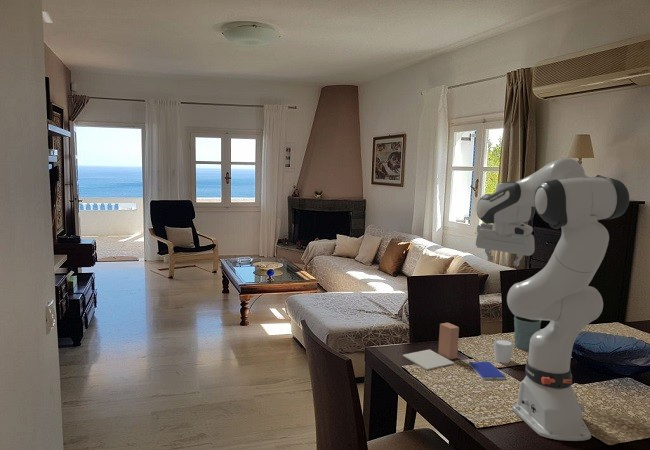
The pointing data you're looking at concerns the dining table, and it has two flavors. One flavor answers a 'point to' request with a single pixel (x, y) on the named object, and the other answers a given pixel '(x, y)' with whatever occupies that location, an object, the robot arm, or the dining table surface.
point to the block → (448, 340)
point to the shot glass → (503, 350)
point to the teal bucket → (525, 331)
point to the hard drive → (486, 370)
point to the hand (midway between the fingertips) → (503, 263)
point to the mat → (428, 359)
